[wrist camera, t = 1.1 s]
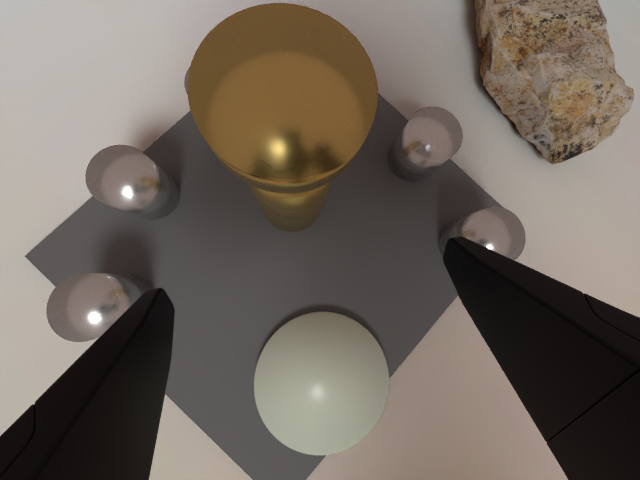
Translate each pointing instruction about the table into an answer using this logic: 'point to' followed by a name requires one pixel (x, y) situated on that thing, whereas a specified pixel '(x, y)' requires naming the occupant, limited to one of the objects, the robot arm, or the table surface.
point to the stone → (552, 72)
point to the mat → (272, 272)
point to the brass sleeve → (283, 105)
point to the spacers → (164, 193)
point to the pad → (321, 383)
